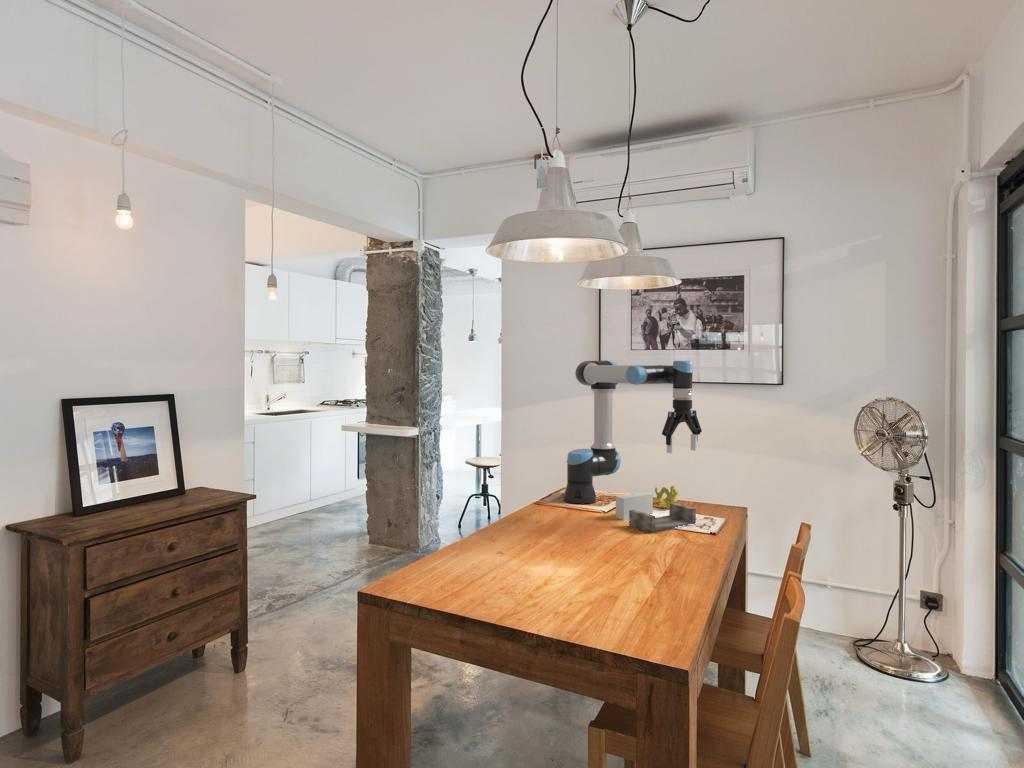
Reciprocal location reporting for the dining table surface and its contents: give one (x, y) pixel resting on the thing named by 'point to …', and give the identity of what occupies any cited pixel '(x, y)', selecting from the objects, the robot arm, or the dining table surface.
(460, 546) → the dining table surface
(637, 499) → the light grey block
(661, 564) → the dining table surface
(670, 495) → the green plant sprig
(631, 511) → the cradle rack
